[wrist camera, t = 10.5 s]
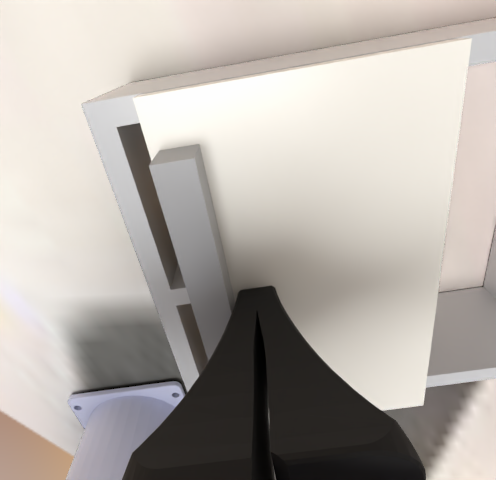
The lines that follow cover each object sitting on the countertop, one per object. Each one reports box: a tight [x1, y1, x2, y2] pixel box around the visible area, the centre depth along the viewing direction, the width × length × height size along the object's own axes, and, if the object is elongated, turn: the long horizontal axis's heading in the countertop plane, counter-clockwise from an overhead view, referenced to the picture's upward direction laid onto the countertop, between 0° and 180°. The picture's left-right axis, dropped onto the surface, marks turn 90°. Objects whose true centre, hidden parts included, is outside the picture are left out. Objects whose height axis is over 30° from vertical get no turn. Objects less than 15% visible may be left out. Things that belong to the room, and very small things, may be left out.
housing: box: [81, 17, 496, 392], centre depth 16 cm, size 15×18×6 cm
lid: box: [133, 38, 472, 411], centre depth 13 cm, size 15×9×2 cm, turn 9°
